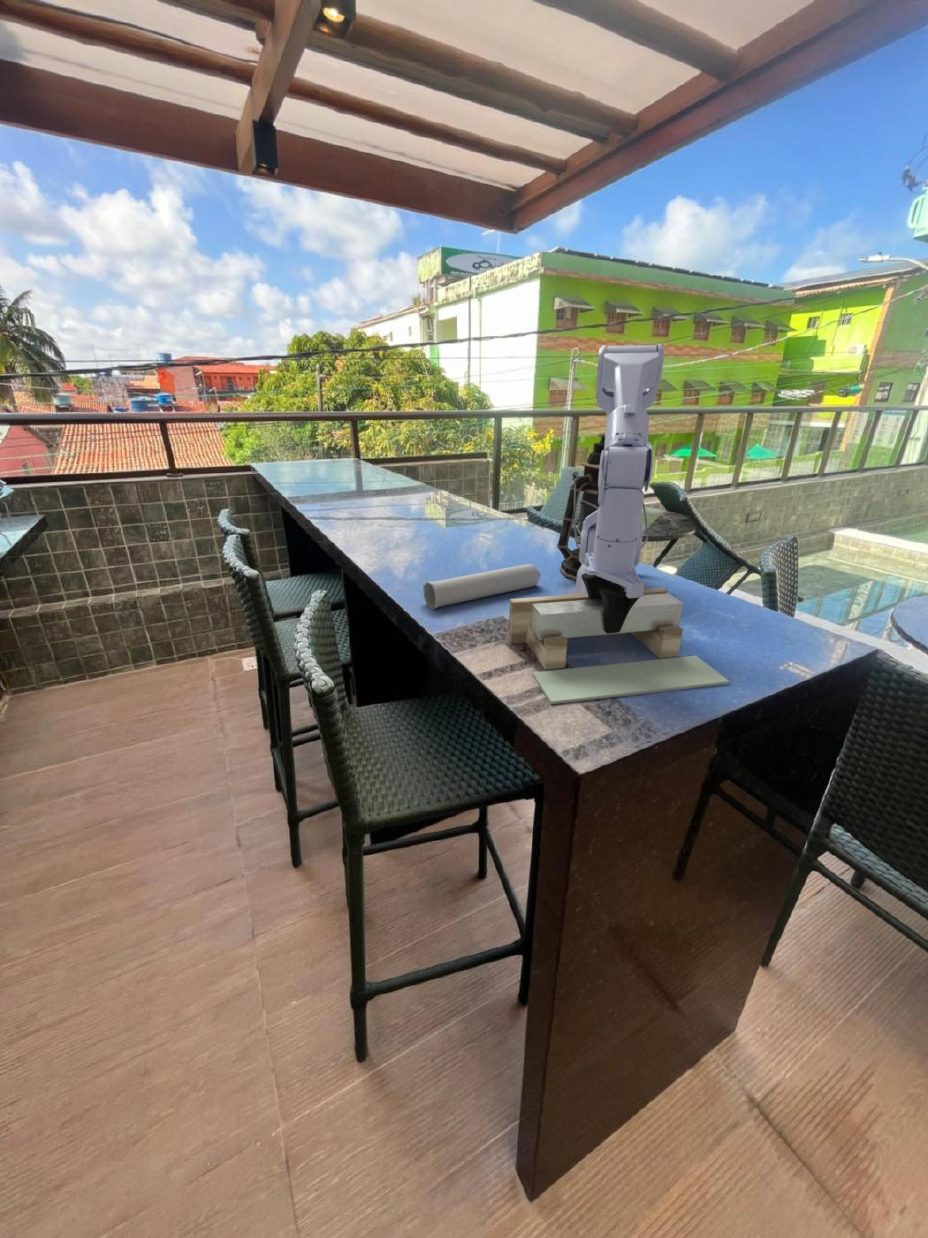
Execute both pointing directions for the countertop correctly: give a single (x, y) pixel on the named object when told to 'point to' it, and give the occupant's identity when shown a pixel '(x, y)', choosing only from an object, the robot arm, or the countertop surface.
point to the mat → (626, 679)
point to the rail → (590, 616)
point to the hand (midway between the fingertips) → (605, 625)
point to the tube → (479, 585)
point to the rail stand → (555, 648)
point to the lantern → (582, 509)
